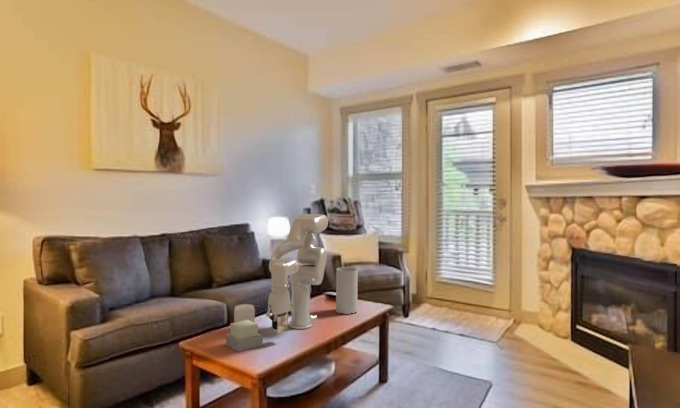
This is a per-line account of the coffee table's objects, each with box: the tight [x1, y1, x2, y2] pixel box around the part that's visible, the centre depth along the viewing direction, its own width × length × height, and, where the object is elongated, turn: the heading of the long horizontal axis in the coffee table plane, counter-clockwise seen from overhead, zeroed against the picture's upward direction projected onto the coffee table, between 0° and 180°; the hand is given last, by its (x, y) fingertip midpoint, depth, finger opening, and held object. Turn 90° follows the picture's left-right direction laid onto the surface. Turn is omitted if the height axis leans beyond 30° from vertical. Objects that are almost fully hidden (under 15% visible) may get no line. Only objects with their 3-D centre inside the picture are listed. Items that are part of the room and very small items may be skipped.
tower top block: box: [229, 320, 259, 340], centre depth 190 cm, size 9×9×5 cm
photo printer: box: [233, 303, 256, 323], centre depth 213 cm, size 10×4×12 cm, turn 104°
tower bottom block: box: [225, 333, 263, 353], centre depth 190 cm, size 12×12×5 cm
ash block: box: [272, 313, 288, 334], centre depth 194 cm, size 5×5×7 cm
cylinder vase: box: [335, 266, 359, 315], centre depth 245 cm, size 12×12×25 cm
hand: (279, 327), depth 194 cm, fingers closed on ash block, 5 cm apart
